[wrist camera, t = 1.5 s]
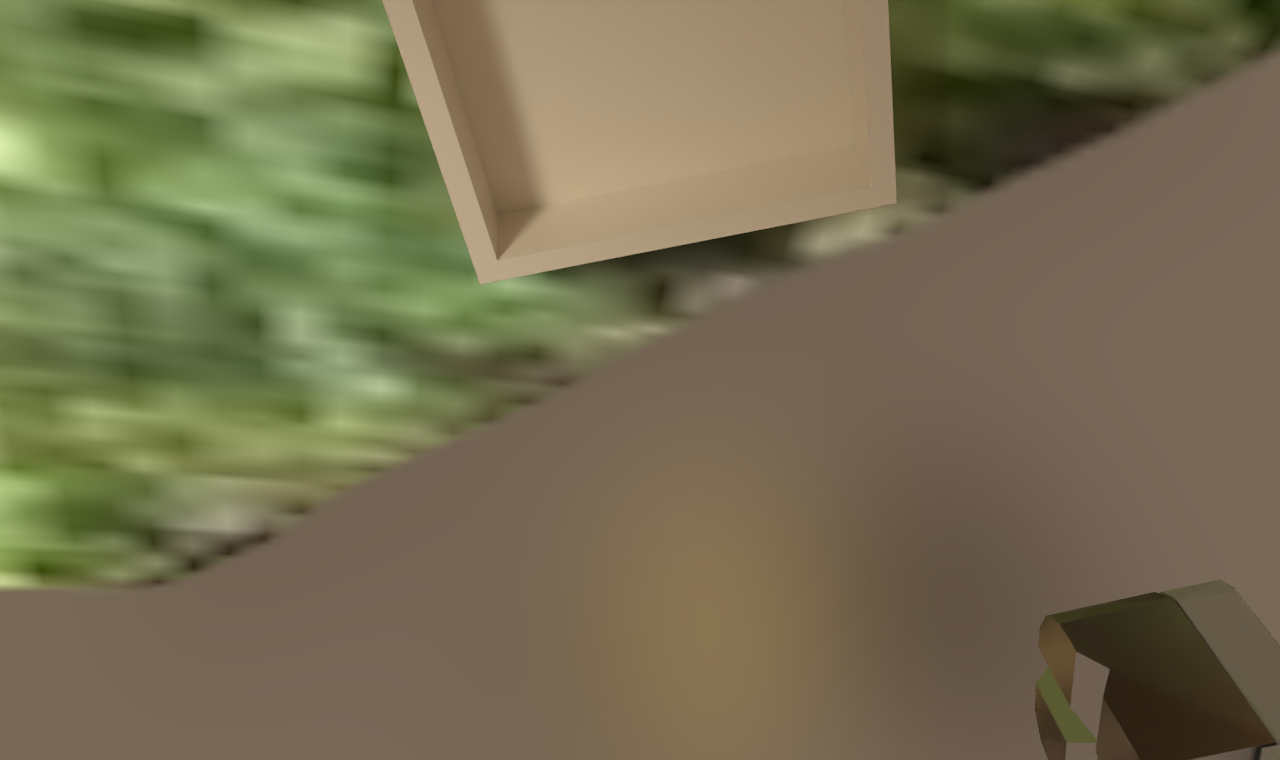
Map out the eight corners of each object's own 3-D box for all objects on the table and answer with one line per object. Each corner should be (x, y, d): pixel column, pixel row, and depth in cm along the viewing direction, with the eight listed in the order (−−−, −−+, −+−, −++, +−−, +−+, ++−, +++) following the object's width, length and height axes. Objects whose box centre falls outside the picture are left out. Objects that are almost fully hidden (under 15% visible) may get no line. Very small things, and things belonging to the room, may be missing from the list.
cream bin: (347, -185, 33) (333, -142, 30) (847, -295, 32) (877, -261, 30) (482, 224, 42) (480, 284, 40) (873, 147, 42) (896, 203, 39)
